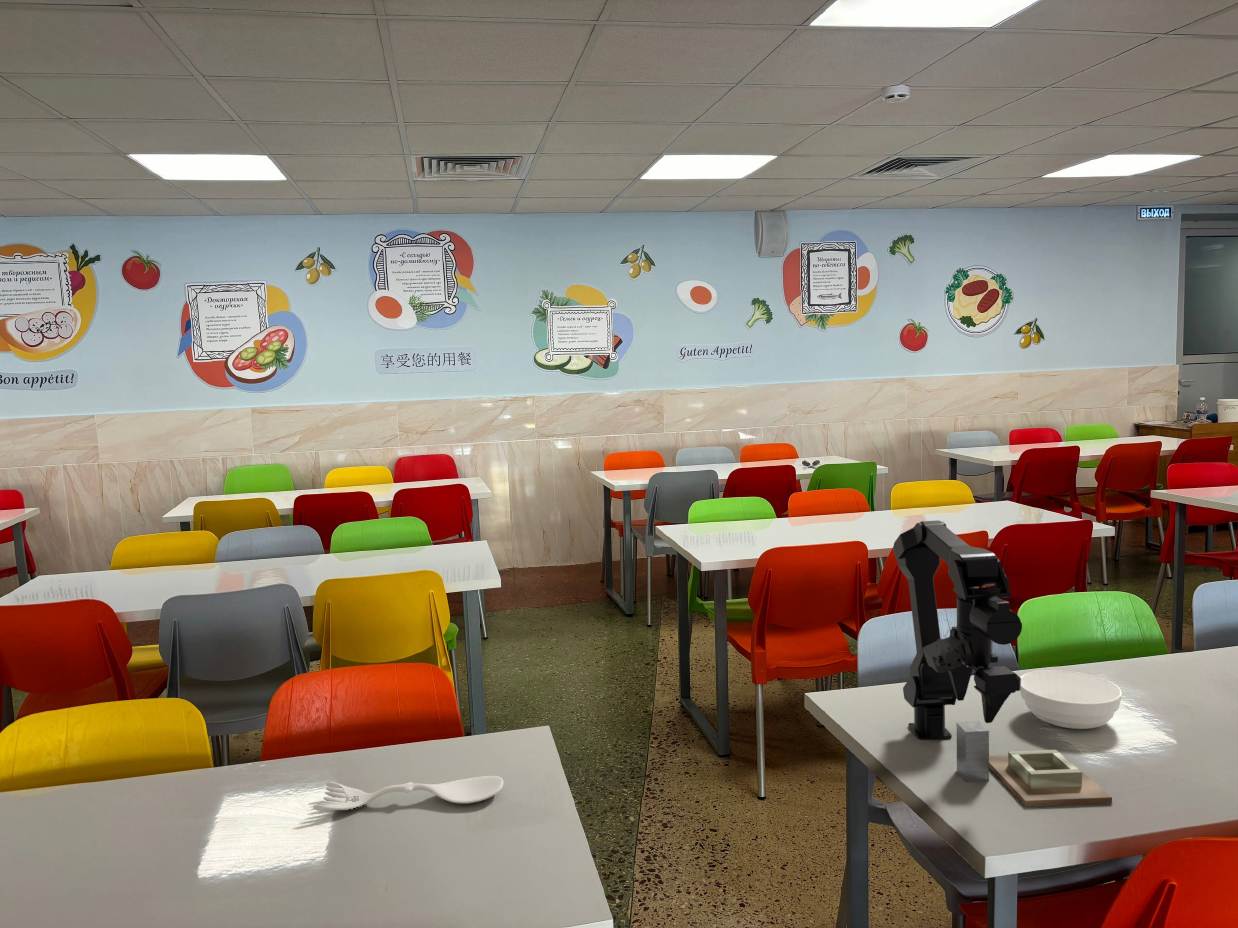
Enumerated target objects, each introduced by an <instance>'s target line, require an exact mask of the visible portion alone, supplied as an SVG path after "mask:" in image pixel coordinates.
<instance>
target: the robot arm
mask: <svg viewBox="0 0 1238 928" xmlns="http://www.w3.org/2000/svg"><path fill="white" fill-rule="evenodd" d="M892 548H893V555H894V557H895V558H896V562H897V567H898V569H899V570H900V572H901V573H902V574H903V575H904V576H905V578H906V579H907V582H908V589H909V591H908V592H909V597H910V606H911V616H912V625H913V632H914V633H913V634H914V642H915V649H916V650H915V651H916V653H915V656H914V658H913V660H912V662H911V664H910V667H909V678H908V679H907V681H906V683H905V684H904V686H903V688H902V691H903V699H904V700H905V702H907V703H908V704H909V705H910V706H911V707H912V708H913V713H914V714H913V722H909V723H907V724H908V725H907V726H908V728H909V729H910V730H911V731H912V732H913V734H914V735H915V736H916V738H918V739H919V740H928V739H929V740H930V739H948V738H949V739H951V738H952V737H953V735H952V734H951V732H950V731H949V730H948V729H947V728H946V706H955V705H956V702H957V701H958V702H959V701H964V700H965V697H966V694H967V692H968V688H969V683H970V680H971V678H972V677H971V676H972V673H973V671H975V672H974V674H973V681H974V683H975V685H973V688H974V689H975V690H976V691H977V692H978V693H980V695H981V703H982V705H981V706H982V712H983V713H982V714H983V719H984V723H985V724H990V723H993V721H994V720H995V718H996V716H997V714H998V713H999V712H1000V710H1001V708H1002V707H1003V705H1004V704H1005V702H1006V701H1007V699H1008V698H1009V697H1010V696H1011V694H1014V693H1016V692H1020V690H1021V678H1020V677H1021V676H1019V675H1018V674H1017V673H1016V672H1014V671H1012V669H1010V668H1008V667H1007V666H1005V665H1000V666H991V664H993V663H998V662H999V661H998V659H999V657H998V655H996V654H994V651H993V649H994V647H993V646H994V644H993V643H995V644H997V645H1002V646H1005V645H1010V644H1012V643H1013V642H1015V641H1016V640H1017V639H1018V638H1019V637H1020V636H1021V633H1022V631H1023V623H1022V621H1021V618H1020V617H1019V615H1018V613H1016V612H1015V611H1014V610H1011V603H1010V602H1009V601H1007V600H1004V598H1011V591H1010V587H1011V584H1010V582H1009V580H1008V577H1007V575H1006V573H1005V570H1004V568H1003V565H1002V563H1001V561H1000V559H999V558H998V557H997V555H996V554H995V553H994V552H993V551H990V550H988V549H985V548H982V547H976V546H971V545H969V544H968V543H966V541H964V540H963V539H962V538H961V537H960V536H958V535H957V534H956V533H954V532H953V531H952V530H951V529H949V528H948V527H947V524H946V522H945V521H941V520H937V519H936V520H922V521H919V522H917V523H916V524H915V525H914V526H913V527H912V528H910V529H908V530H906V531H904V532H902V533H900V534H899V535H898V536H897V538H896V540H895V541H894V543H893V546H892ZM941 560H942V561H943V562H944V563H946V565H947V566H948V573H947V574H948V576H949V578H950V579H951V581H952V583H953V586H954V587H953V588H952V589H953V593H954V592H955V594H956V626H952V627H951V628H950V630H949V636H948V637H944V638H941V630H940V623H939V617H938V616H939V614H938V605H937V599H936V590H935V583H934V582H935V581H934V577H935V574H937V572H938V569H939V567H940V564H941ZM991 586H992V587H991ZM1002 598H1003V599H1002Z"/></svg>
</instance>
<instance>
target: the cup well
mask: <svg viewBox="0 0 1238 928" xmlns="http://www.w3.org/2000/svg"><path fill="white" fill-rule="evenodd" d="M989 770H991V771H992V772H993V773H994V774H995V776H996V777H997V778H998V779H999V780H1000V781H1001V782H1002V783H1003V784H1004V785H1005V787H1006V788H1008V790H1010V792H1011V793H1012V794H1013V795H1014V796H1015V797H1016V798H1017V800H1019V801H1020V802H1021V803H1022V805H1023V806H1024V807H1026V808H1027V807H1045V806H1046V807H1048V806H1049V807H1051V806H1052V807H1053V806H1071V805H1072V806H1075V805H1076V806H1077V805H1097V804H1113V796H1112V795H1110V794H1109V793H1108V792H1107V791H1105V789H1103V788H1102V787H1101V786H1100V785H1099V784H1097V783H1096V782H1095V781H1094V780H1093V779H1091V778H1090V777H1089V775H1087V774H1086V773H1085V772H1083V771H1082V770H1081V769H1080V768H1079V767H1078V766H1077V765H1075V764H1074V763H1073V762H1072V761H1071V760H1069V758H1067V757H1066V756H1065V755H1064V754H1062V753H1061V752H1059V751H1058V750H1057V749H1043V750H1041V749H1040V750H1018V751H1017V750H1015V751H1008V753H1007V754H1005V755H1004V754H1003V755H1002V754H1001V755H989Z"/></svg>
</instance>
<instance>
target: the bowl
mask: <svg viewBox="0 0 1238 928" xmlns="http://www.w3.org/2000/svg"><path fill="white" fill-rule="evenodd" d="M1019 677H1020V678H1021V690H1020V691H1019V692H1020V696H1021V698H1022V699H1023V700H1024V702H1025V705H1026V707H1027V708H1028V709H1029V710H1030V711H1031V713H1032V714H1033V715H1034V716H1035V717H1036V718H1038V720H1041V721H1044V722H1046V723H1048V724H1051V725H1054V726H1057V727H1060V728H1065V729H1072V730H1074V729H1075V730H1084V729H1085V730H1086V729H1095V728H1099V727H1100V728H1101V727H1102V726H1104V725H1105V724H1107V723H1108V722H1109V721H1110V720H1112V718H1113V717H1114V715H1115V713H1116V712H1117V711H1118V710H1119V708H1120V706H1121V705H1120V704H1121V700H1122V697H1123V692H1122V690H1121V688H1120V686H1118V685H1116V684H1115V683H1114V682H1112V681H1109V680H1107V679H1105V678H1102V677H1099V676H1096V675H1092V674H1089V673H1088V674H1087V673H1083V672H1078V671H1072V670H1061V669H1060V670H1059V669H1047V670H1046V669H1043V670H1041V669H1040V670H1034V671H1029V672H1026V673H1023V674H1022V675H1020V676H1019Z"/></svg>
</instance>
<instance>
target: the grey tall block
mask: <svg viewBox="0 0 1238 928" xmlns="http://www.w3.org/2000/svg"><path fill="white" fill-rule="evenodd" d="M989 756H990V731H989V730H988V729H987V728H986V726H984V725H983V723H981V722H980V721H959V722H956V771H957V773H958V774H959V775H960V776H961V778H962V779H963V780H964V781H965V782H987V781H990V768H989Z"/></svg>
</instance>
